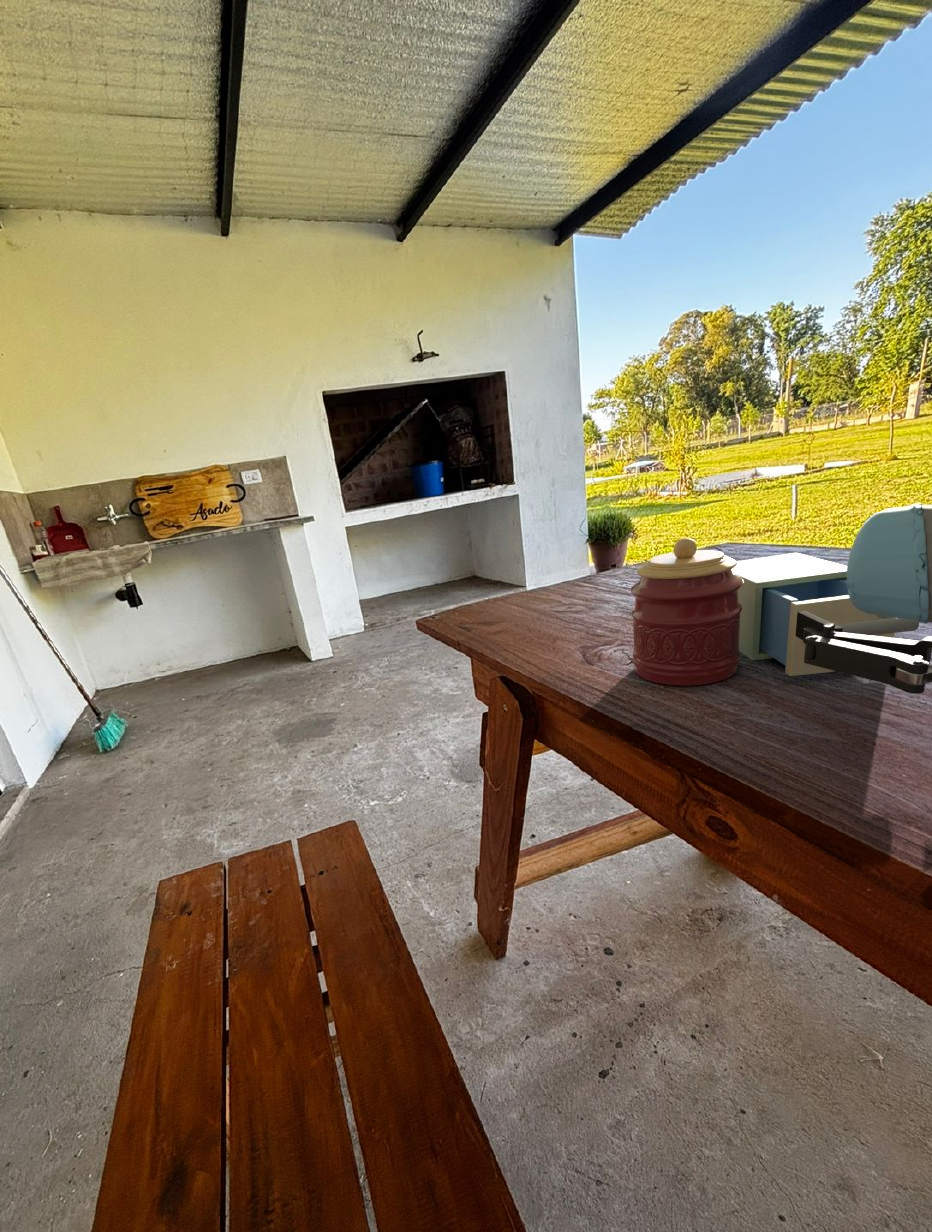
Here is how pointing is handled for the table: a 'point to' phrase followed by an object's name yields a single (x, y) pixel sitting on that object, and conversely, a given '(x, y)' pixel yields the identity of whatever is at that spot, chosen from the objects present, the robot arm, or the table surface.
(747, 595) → the small drawer unit
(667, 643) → the kitchen canister
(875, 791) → the table surface
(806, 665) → the sliding drawer
